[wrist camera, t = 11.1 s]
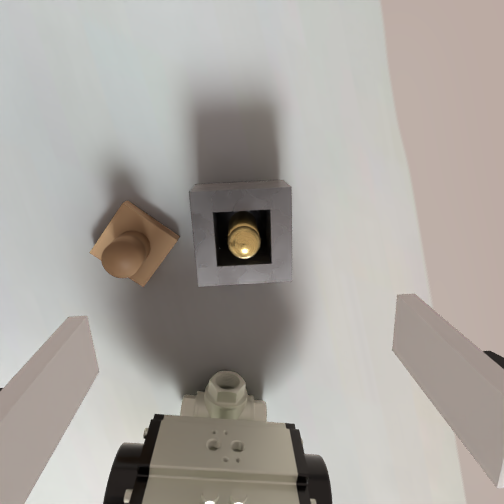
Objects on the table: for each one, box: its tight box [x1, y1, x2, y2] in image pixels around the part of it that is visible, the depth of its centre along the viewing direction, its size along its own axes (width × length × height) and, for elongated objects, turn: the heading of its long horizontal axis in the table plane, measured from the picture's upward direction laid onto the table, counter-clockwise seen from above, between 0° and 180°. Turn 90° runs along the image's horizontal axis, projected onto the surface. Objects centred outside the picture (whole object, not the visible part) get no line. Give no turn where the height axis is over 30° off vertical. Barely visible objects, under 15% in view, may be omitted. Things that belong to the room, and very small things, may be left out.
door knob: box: [217, 210, 267, 258], centre depth 31 cm, size 6×6×9 cm
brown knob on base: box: [90, 200, 180, 287], centre depth 32 cm, size 6×6×6 cm
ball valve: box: [103, 371, 332, 504], centre depth 33 cm, size 18×8×18 cm, turn 82°
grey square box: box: [189, 180, 292, 287], centre depth 31 cm, size 8×8×5 cm
